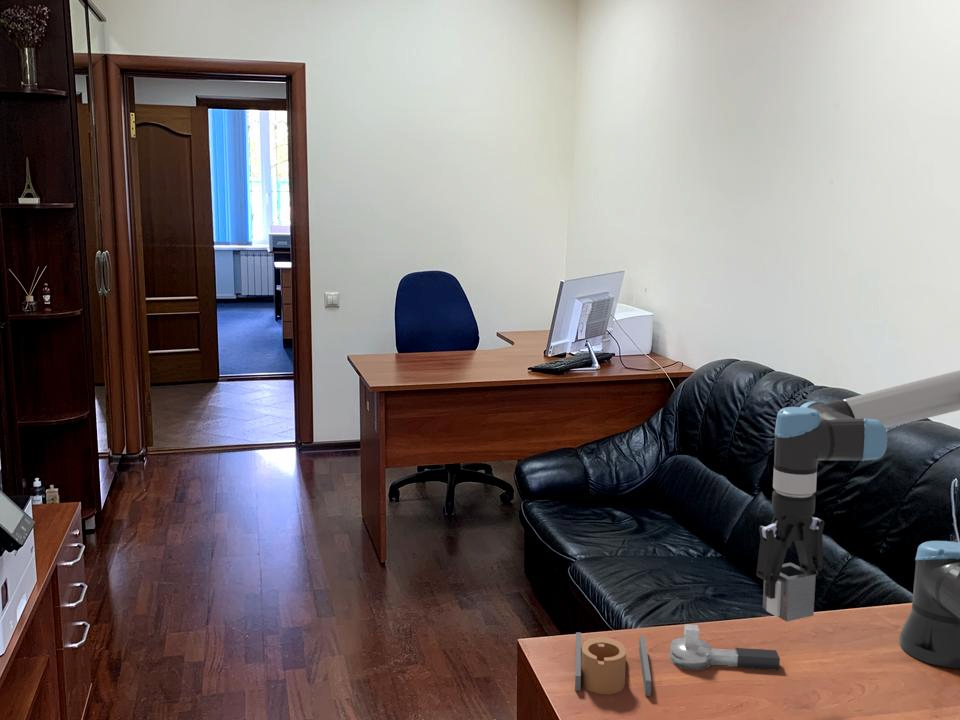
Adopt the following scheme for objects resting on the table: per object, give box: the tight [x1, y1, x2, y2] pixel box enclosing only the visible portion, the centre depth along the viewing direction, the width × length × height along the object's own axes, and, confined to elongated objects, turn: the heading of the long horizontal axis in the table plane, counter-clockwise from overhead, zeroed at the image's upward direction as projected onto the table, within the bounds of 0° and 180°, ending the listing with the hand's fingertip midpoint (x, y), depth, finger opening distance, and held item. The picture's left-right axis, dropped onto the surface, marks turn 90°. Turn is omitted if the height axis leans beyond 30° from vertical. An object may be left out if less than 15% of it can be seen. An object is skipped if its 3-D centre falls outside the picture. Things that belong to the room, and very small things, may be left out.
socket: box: [762, 562, 817, 622], centre depth 164 cm, size 6×6×8 cm
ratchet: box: [669, 623, 781, 671], centre depth 176 cm, size 21×8×7 cm, turn 83°
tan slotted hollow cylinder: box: [581, 636, 627, 695], centre depth 172 cm, size 18×8×7 cm, turn 171°
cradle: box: [574, 631, 652, 697], centre depth 172 cm, size 14×18×3 cm
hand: (787, 609), depth 165 cm, fingers closed on socket, 6 cm apart
